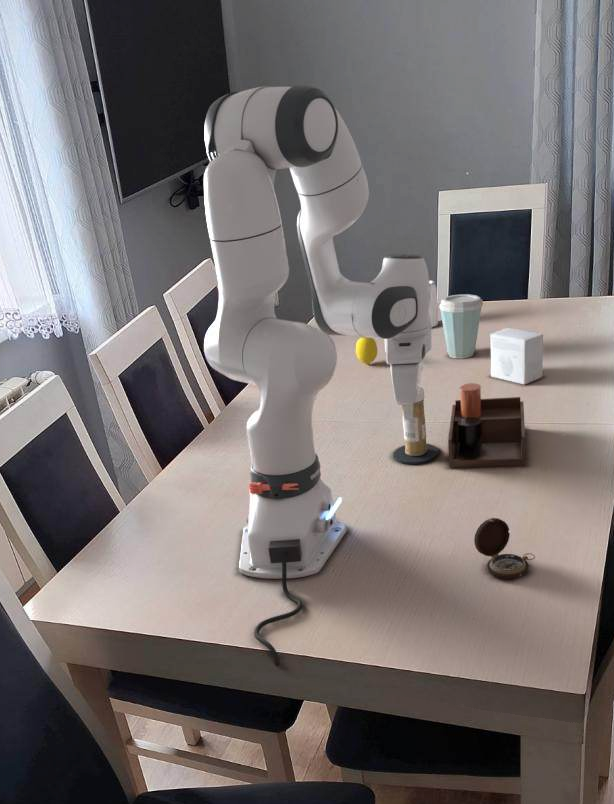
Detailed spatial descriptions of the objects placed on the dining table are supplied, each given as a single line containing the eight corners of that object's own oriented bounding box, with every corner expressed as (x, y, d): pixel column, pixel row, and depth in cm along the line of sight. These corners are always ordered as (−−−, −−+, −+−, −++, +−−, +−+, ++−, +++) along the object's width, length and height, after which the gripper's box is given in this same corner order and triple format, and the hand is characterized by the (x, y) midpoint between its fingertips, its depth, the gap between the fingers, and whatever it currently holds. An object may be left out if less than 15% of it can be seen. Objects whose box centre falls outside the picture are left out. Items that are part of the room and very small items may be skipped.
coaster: (437, 463, 172) (436, 461, 171) (391, 465, 174) (390, 462, 174) (439, 444, 179) (439, 442, 179) (395, 446, 182) (395, 444, 181)
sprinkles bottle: (432, 451, 176) (428, 388, 169) (415, 459, 174) (411, 395, 167) (416, 445, 179) (412, 383, 172) (399, 453, 177) (395, 390, 171)
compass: (504, 585, 132) (503, 544, 129) (473, 563, 139) (472, 523, 136) (547, 568, 135) (548, 527, 131) (514, 547, 141) (514, 507, 138)
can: (415, 330, 247) (412, 287, 241) (415, 323, 252) (412, 281, 246) (438, 327, 245) (436, 285, 239) (438, 321, 251) (436, 279, 245)
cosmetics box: (543, 376, 202) (544, 332, 197) (524, 385, 199) (524, 340, 194) (508, 368, 210) (508, 325, 205) (489, 376, 207) (489, 333, 202)
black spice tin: (481, 458, 171) (481, 425, 167) (458, 459, 172) (457, 426, 168) (482, 448, 174) (481, 416, 171) (459, 449, 175) (458, 417, 172)
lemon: (382, 361, 228) (379, 331, 224) (372, 369, 224) (370, 338, 220) (363, 360, 231) (360, 331, 227) (353, 367, 227) (350, 338, 223)
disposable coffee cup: (451, 346, 230) (449, 289, 222) (490, 349, 224) (490, 290, 216) (434, 360, 223) (431, 302, 215) (473, 363, 217) (472, 303, 209)
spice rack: (525, 465, 165) (525, 431, 162) (449, 468, 169) (448, 435, 166) (523, 428, 180) (523, 396, 176) (453, 431, 184) (452, 400, 180)
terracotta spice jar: (481, 418, 175) (480, 390, 172) (460, 419, 176) (459, 391, 173) (481, 410, 178) (480, 382, 175) (461, 411, 179) (460, 383, 177)
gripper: (396, 326, 174) (400, 391, 181) (385, 358, 157) (389, 429, 164) (428, 324, 173) (431, 390, 179) (420, 356, 156) (423, 428, 162)
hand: (411, 409), depth 171 cm, fingers open, 8 cm apart
